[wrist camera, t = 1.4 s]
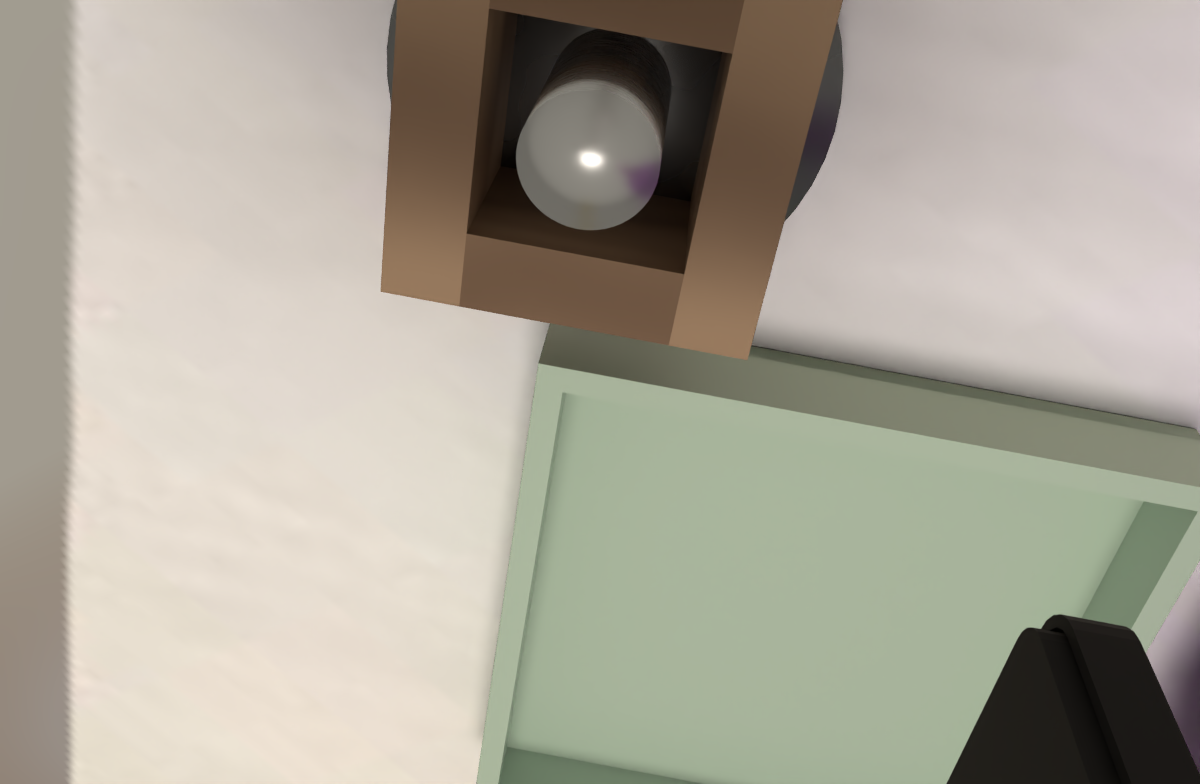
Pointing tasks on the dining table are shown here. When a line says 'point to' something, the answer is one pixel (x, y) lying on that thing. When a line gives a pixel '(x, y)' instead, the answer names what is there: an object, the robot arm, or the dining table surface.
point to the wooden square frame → (639, 245)
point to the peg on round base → (621, 119)
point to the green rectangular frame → (804, 562)
